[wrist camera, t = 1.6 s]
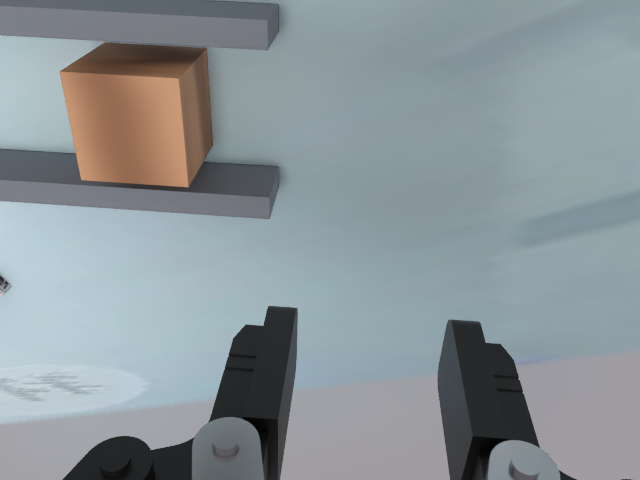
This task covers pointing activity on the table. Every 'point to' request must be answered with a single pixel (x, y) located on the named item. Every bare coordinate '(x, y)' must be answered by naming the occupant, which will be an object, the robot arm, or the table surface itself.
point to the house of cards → (3, 286)
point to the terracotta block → (139, 113)
